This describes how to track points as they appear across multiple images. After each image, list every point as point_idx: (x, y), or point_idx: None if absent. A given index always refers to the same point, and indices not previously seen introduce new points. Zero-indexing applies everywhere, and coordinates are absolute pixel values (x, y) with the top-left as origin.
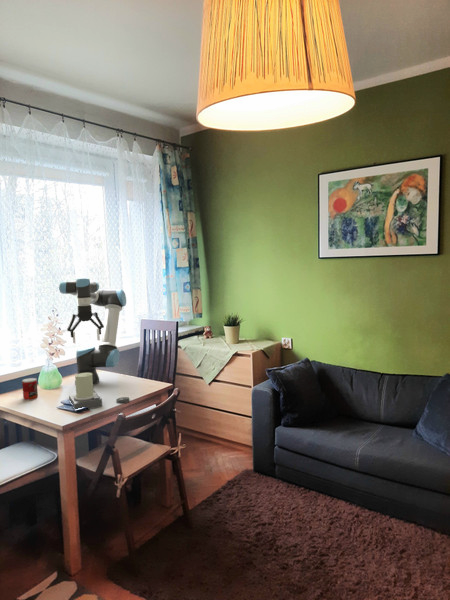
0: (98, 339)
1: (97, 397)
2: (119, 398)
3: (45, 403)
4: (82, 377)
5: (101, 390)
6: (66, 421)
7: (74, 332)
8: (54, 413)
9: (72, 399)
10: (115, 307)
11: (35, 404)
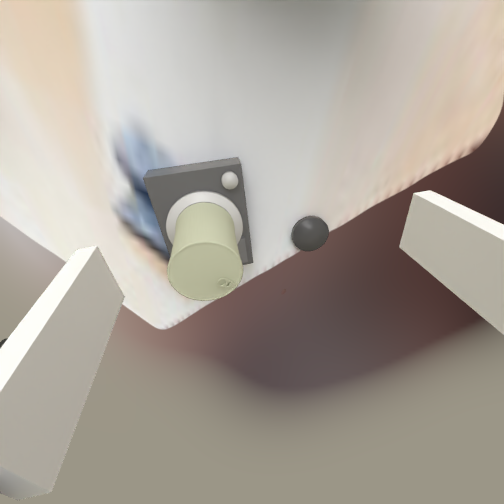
0: (409, 254)
1: (242, 260)
2: (304, 226)
3: (49, 144)
4: (201, 298)
5: (276, 54)
6: (164, 315)
7: (49, 475)
8: (120, 260)
9: (164, 235)
10: None
11: (4, 139)
